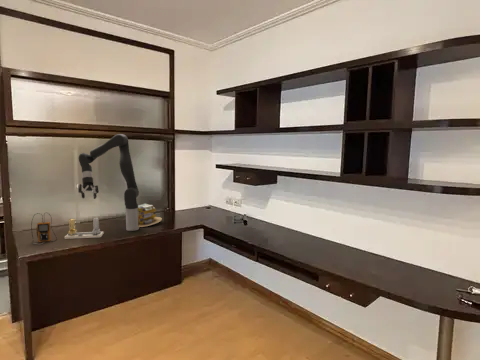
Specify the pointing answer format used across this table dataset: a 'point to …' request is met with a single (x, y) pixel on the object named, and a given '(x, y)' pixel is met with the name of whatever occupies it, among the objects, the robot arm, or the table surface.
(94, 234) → the white stand
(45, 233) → the multimeter
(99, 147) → the robot arm
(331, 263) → the table surface
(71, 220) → the brass leg
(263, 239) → the table surface
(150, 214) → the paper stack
